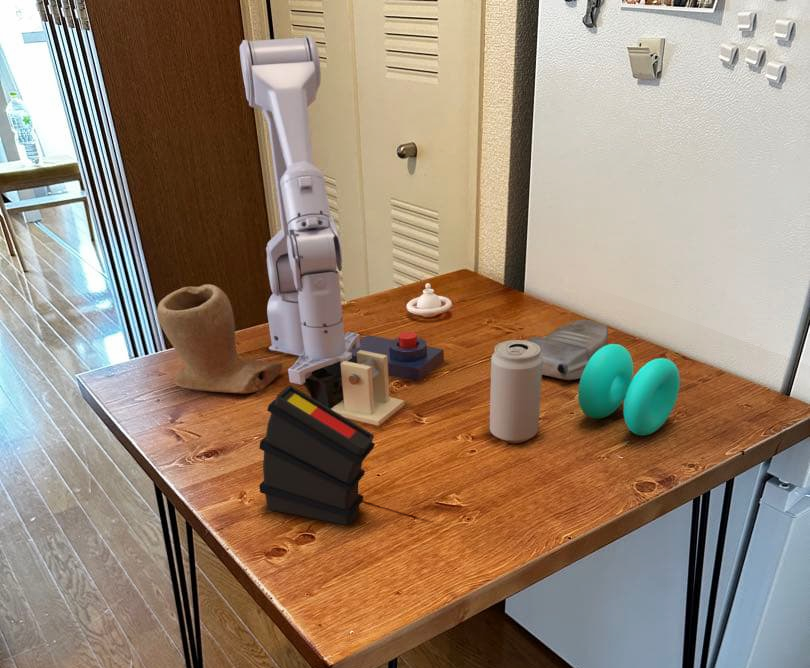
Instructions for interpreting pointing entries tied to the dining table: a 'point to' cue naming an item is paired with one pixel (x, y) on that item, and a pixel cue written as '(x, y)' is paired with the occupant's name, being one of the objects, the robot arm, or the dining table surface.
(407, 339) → the red push button
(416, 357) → the push button base
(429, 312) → the ring around a ball
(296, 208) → the robot arm
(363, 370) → the switch box
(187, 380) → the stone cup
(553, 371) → the handheld device
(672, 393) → the turquoise spool
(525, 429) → the beverage can
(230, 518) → the dining table surface
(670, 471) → the dining table surface
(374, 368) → the toggle
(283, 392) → the magazine
